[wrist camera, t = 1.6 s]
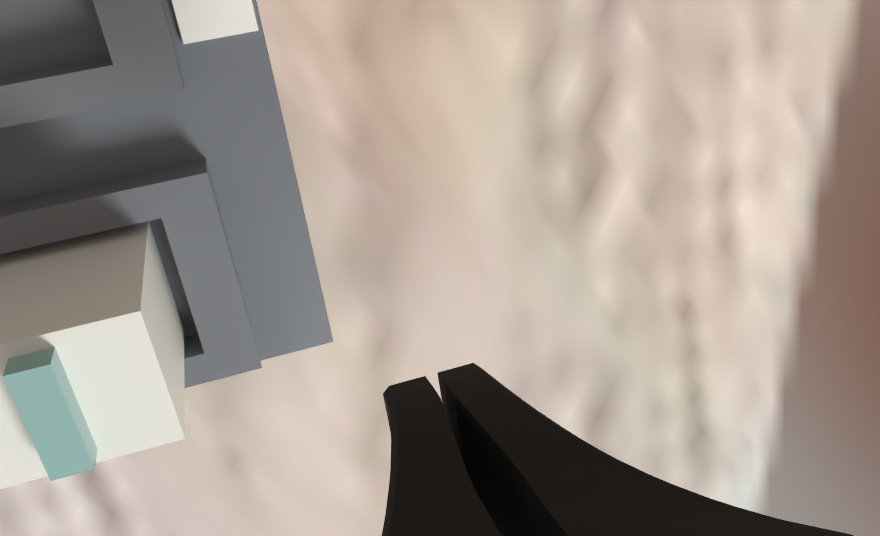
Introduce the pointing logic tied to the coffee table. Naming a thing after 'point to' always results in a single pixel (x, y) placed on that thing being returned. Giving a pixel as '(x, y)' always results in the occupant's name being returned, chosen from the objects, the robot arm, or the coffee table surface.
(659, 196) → the coffee table surface
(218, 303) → the switch bank
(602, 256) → the coffee table surface
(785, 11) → the coffee table surface
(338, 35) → the coffee table surface
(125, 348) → the tab
